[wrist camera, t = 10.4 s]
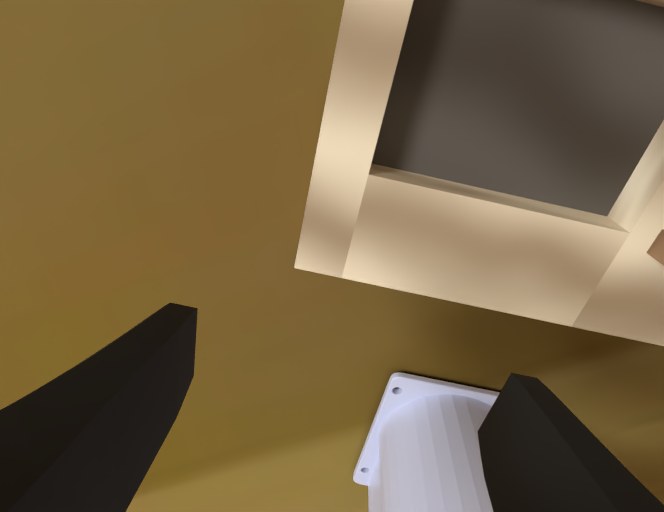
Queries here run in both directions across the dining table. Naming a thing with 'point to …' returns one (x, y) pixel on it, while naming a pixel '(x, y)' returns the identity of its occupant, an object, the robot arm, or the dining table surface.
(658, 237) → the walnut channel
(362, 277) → the birch deck
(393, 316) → the dining table surface
